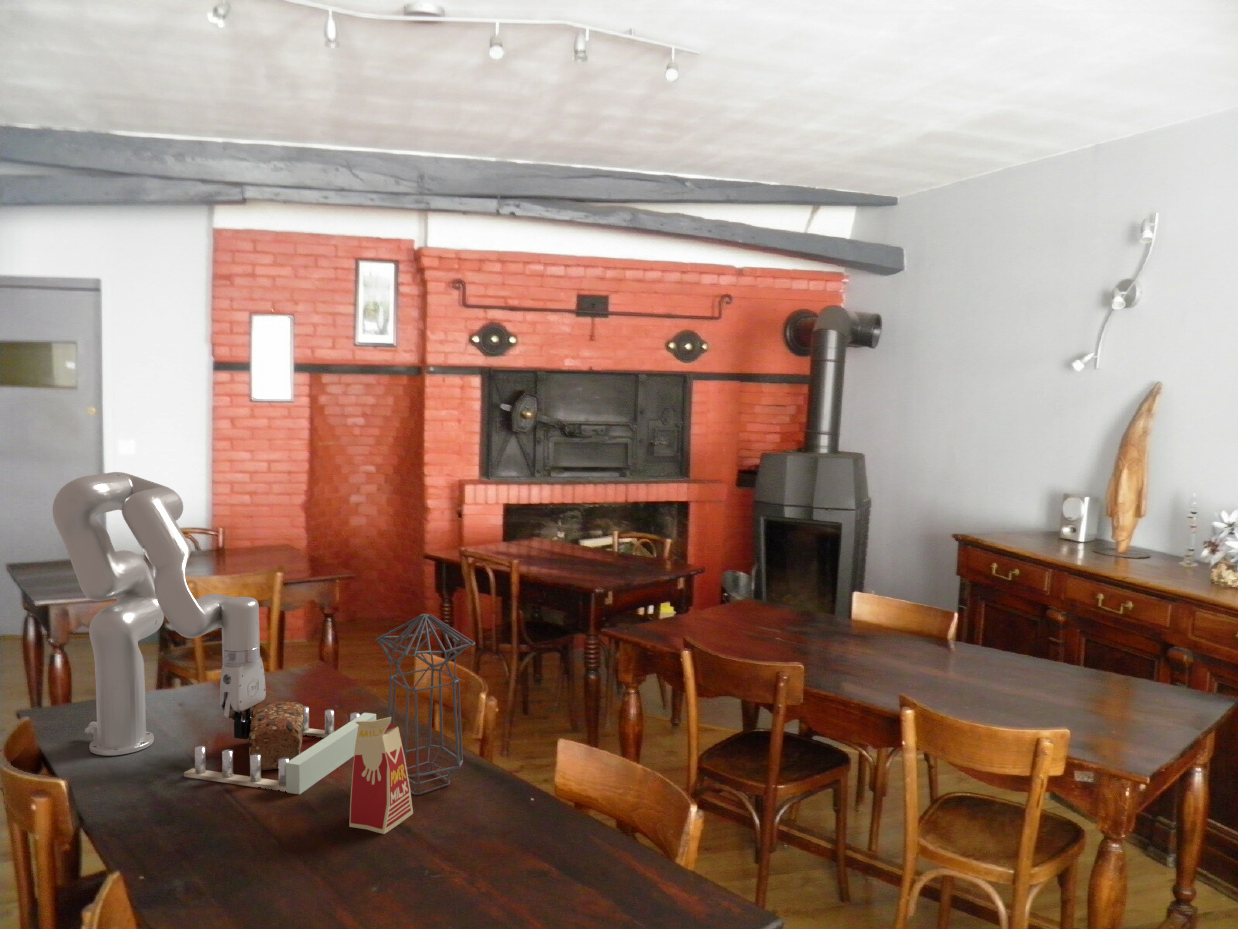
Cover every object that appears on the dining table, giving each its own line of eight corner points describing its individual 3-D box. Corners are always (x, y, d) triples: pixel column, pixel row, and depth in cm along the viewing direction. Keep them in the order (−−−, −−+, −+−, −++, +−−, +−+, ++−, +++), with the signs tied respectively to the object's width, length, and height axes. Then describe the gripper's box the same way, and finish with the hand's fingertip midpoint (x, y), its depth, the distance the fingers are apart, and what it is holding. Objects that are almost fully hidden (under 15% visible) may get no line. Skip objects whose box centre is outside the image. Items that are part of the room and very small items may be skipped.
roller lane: (182, 777, 194) (182, 748, 194) (272, 726, 223) (272, 701, 222) (299, 794, 187) (299, 765, 187) (376, 739, 216) (376, 714, 216)
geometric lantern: (372, 780, 195) (371, 611, 192) (441, 762, 204) (441, 601, 201) (406, 808, 182) (406, 628, 179) (478, 787, 192) (479, 617, 189)
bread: (300, 769, 200) (300, 722, 199) (246, 773, 197) (245, 726, 196) (305, 736, 218) (305, 694, 217) (255, 740, 215) (255, 697, 214)
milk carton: (413, 813, 180) (413, 710, 178) (385, 835, 172) (385, 727, 170) (371, 805, 183) (371, 704, 181) (342, 826, 174) (342, 720, 173)
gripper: (233, 666, 198) (235, 752, 199) (277, 647, 212) (278, 727, 214) (202, 663, 200) (204, 748, 201) (247, 644, 214) (249, 724, 216)
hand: (242, 737), depth 208 cm, fingers closed
